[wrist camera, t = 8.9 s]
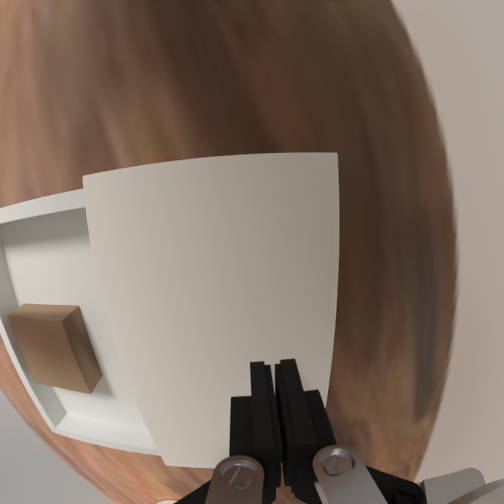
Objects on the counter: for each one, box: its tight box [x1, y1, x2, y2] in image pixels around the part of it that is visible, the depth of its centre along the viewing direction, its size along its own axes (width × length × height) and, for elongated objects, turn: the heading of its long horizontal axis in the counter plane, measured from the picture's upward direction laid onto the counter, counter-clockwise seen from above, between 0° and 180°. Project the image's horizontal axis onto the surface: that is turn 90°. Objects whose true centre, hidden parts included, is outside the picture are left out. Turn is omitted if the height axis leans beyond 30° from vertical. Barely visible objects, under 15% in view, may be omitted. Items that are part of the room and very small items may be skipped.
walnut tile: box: [7, 303, 103, 394], centre depth 13 cm, size 5×5×2 cm
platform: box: [83, 153, 339, 468], centre depth 13 cm, size 18×10×3 cm, turn 3°
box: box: [0, 189, 161, 456], centre depth 14 cm, size 17×10×2 cm, turn 3°
